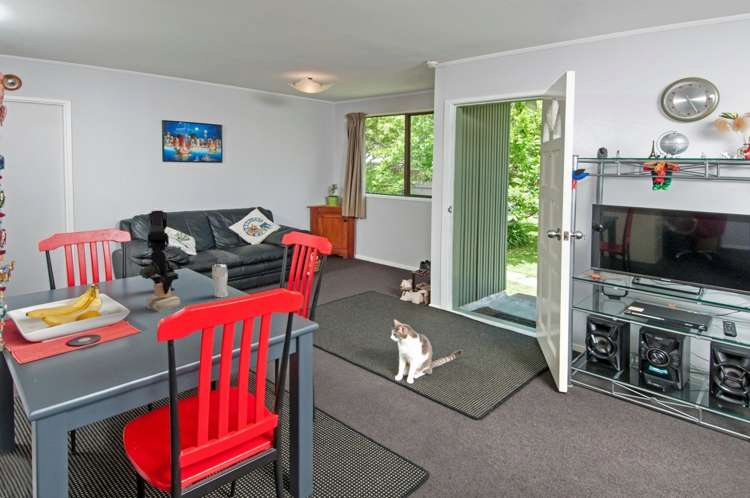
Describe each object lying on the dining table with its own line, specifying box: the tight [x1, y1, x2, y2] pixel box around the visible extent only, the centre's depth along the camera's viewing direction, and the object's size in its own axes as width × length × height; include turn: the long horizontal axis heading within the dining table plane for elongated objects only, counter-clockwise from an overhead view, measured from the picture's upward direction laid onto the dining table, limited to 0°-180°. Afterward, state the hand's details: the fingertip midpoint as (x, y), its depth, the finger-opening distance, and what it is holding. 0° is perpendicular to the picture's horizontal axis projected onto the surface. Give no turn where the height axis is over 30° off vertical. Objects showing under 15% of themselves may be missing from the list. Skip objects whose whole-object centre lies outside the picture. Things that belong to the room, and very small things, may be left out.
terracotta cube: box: [153, 283, 172, 297], centre depth 213 cm, size 5×5×5 cm
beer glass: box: [211, 263, 229, 298], centre depth 230 cm, size 7×7×15 cm
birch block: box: [145, 294, 181, 313], centre depth 214 cm, size 10×10×4 cm
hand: (162, 292), depth 214 cm, fingers closed on terracotta cube, 5 cm apart
